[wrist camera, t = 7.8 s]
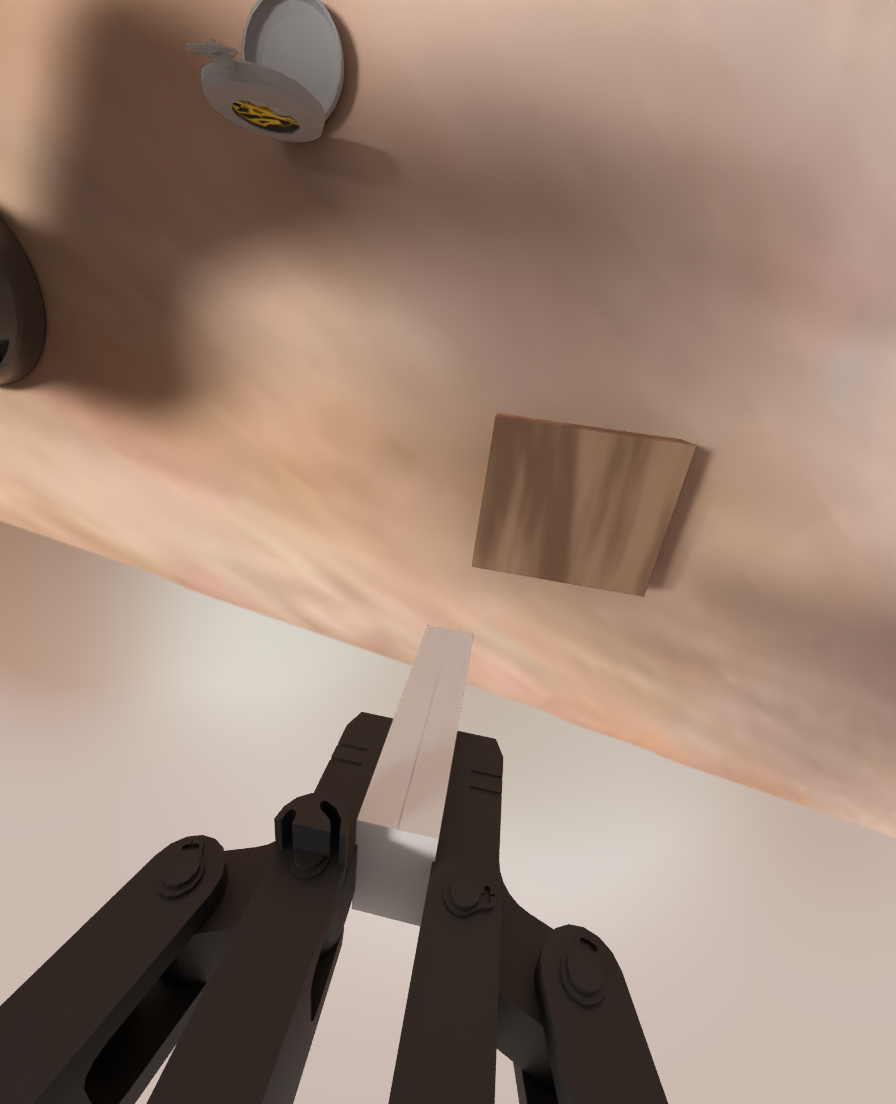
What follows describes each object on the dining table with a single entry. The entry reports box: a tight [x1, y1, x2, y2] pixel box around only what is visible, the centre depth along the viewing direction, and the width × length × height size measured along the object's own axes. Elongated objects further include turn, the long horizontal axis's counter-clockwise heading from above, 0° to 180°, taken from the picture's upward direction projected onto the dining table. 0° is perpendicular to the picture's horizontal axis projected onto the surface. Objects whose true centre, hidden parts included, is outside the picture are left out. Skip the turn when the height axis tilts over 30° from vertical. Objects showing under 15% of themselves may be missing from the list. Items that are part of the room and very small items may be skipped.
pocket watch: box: [184, 0, 345, 142], centre depth 24 cm, size 8×8×10 cm
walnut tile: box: [472, 413, 696, 597], centre depth 35 cm, size 4×12×14 cm
